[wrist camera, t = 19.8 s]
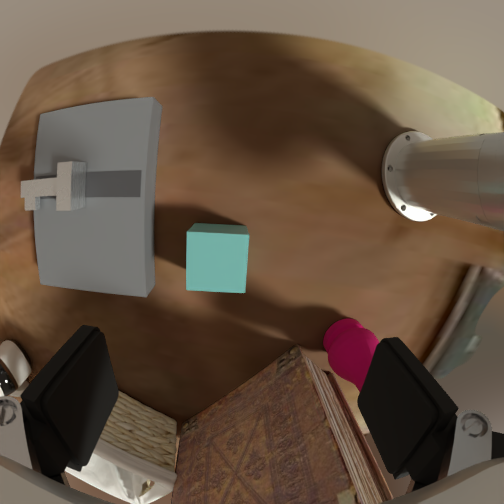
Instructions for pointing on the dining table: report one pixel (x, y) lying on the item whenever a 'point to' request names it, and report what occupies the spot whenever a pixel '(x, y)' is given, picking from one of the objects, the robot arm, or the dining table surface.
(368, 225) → the dining table surface
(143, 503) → the storage basket
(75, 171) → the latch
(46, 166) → the base
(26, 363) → the spread jar
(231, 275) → the cube block
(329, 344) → the pepper mill
